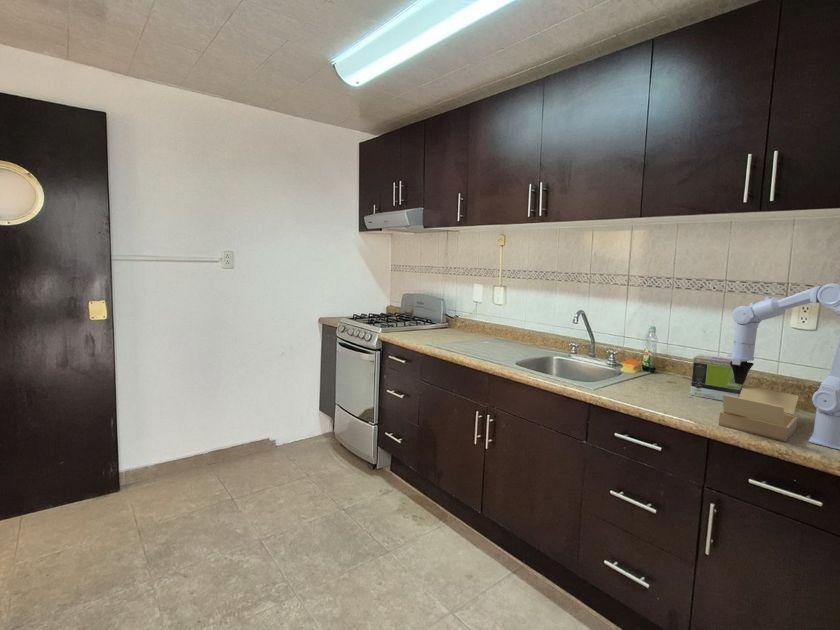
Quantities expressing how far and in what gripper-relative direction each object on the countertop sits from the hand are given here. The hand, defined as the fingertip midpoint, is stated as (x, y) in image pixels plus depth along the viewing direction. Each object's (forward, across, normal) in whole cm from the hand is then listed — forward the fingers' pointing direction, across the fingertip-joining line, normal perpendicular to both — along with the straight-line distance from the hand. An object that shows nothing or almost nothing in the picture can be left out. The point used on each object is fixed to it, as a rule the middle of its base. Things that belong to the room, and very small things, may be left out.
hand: (739, 383), depth 145 cm
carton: (+10, +12, +8) cm, 17 cm away
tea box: (+10, -16, -10) cm, 21 cm away
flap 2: (+3, +2, +8) cm, 9 cm away
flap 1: (+2, +20, +8) cm, 22 cm away
